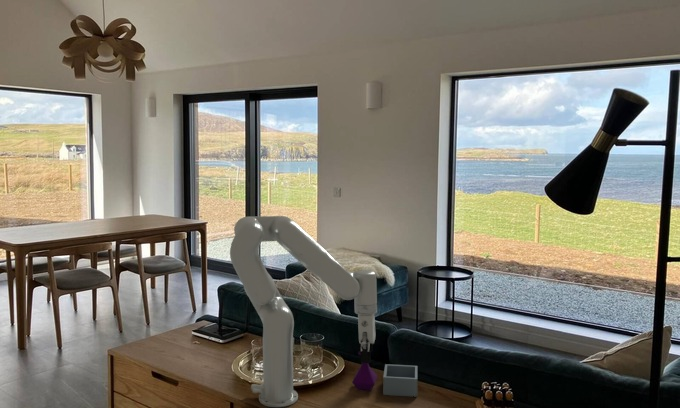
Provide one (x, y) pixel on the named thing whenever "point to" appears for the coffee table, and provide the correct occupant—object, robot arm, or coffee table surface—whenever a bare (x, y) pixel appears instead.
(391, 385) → the walled box
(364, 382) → the perfume bottle
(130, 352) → the coffee table surface
